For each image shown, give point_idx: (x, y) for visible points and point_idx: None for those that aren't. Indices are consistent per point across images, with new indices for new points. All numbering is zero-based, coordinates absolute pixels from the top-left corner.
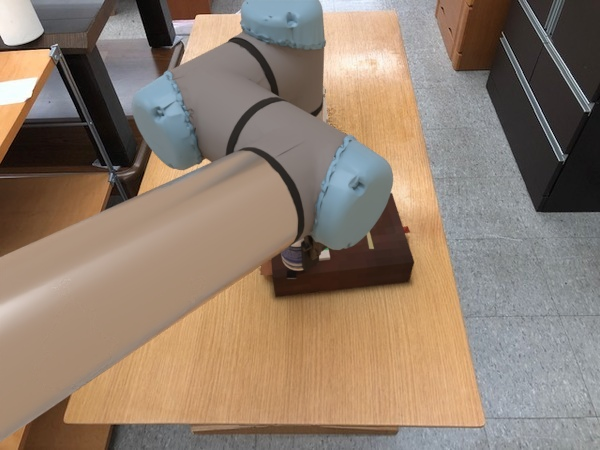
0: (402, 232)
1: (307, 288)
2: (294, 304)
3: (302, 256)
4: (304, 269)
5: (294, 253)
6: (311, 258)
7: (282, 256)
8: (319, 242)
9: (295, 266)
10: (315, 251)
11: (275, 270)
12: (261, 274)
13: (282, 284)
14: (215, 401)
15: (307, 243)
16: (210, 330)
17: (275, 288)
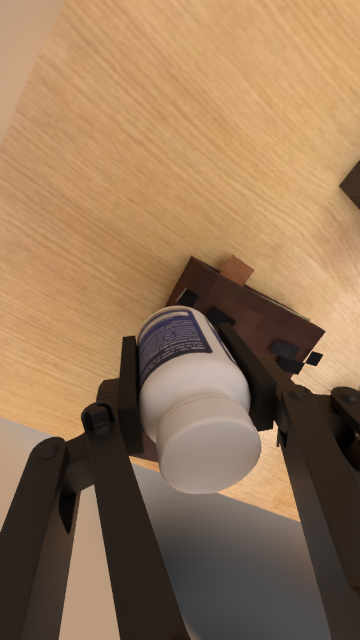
0: (154, 459)
1: (170, 303)
2: (164, 273)
3: (131, 364)
4: (126, 338)
5: (150, 353)
6: (108, 382)
7: (186, 314)
8: (7, 522)
9: (147, 325)
10: (46, 445)
11: (214, 279)
12: (232, 256)
13: (192, 275)
14: (79, 50)
15: (100, 434)
16: (204, 125)
17: (196, 262)
